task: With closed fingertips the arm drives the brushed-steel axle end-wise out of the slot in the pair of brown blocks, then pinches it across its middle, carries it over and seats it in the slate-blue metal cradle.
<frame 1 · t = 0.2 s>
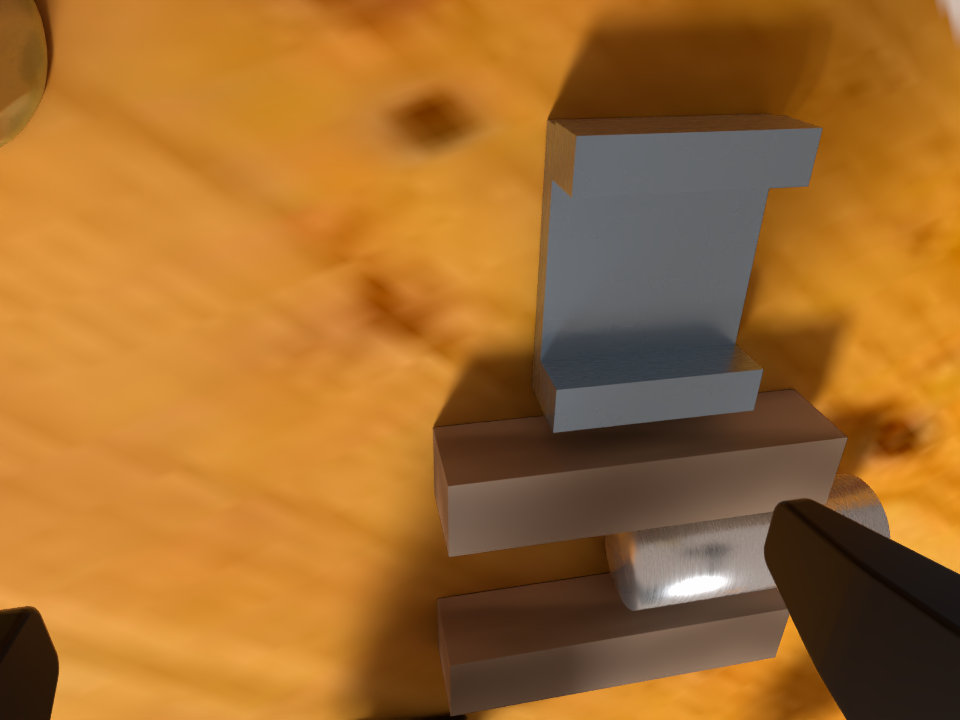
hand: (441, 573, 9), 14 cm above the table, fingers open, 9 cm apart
pair of brown blocks: (606, 525, 29), on the table
axle: (741, 538, 28), point 2 cm above the table
cradle: (642, 260, 23), on the table
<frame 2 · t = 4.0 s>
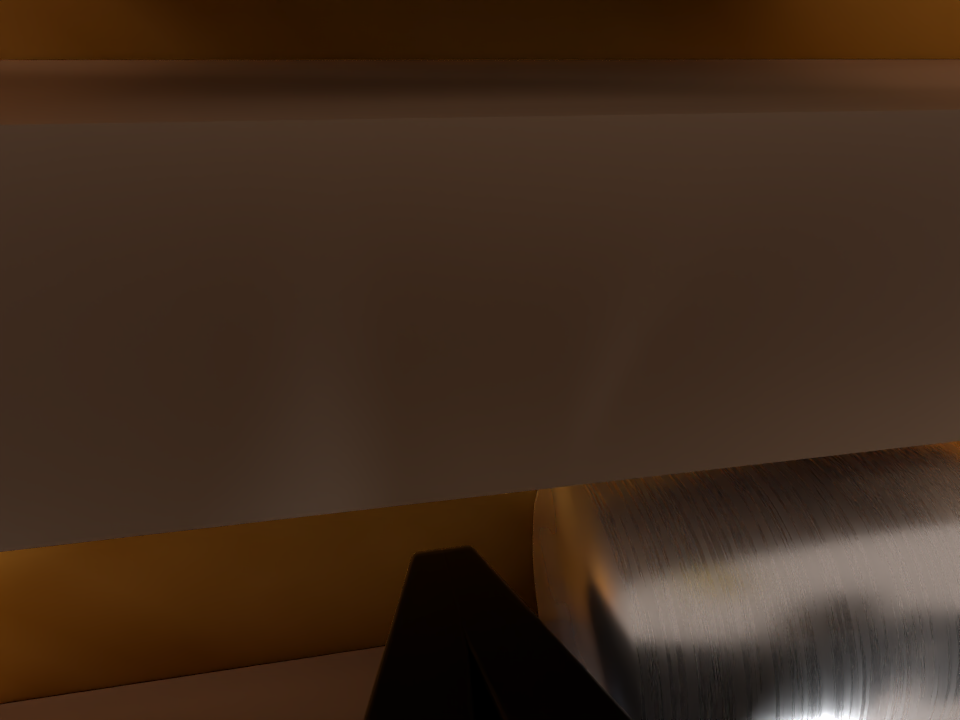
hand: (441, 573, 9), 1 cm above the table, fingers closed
pair of brown blocks: (472, 499, 10), on the table
axle: (926, 570, 10), point 2 cm above the table, tilted 15°, touching gripper
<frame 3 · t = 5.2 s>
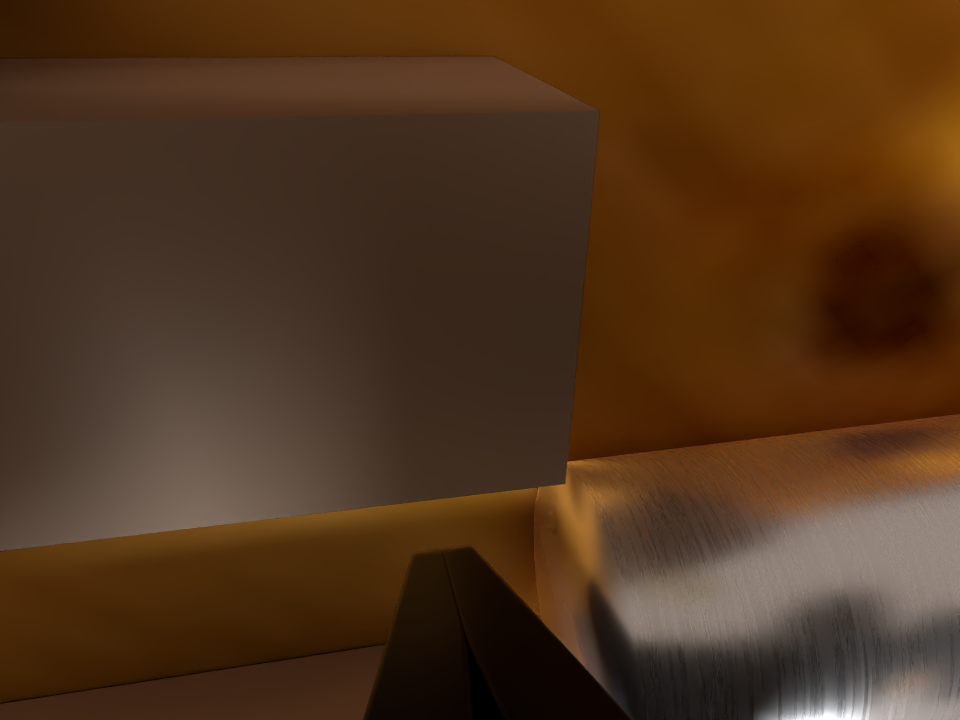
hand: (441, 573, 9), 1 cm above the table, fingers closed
axle: (928, 567, 10), point 2 cm above the table, tilted 15°, touching gripper
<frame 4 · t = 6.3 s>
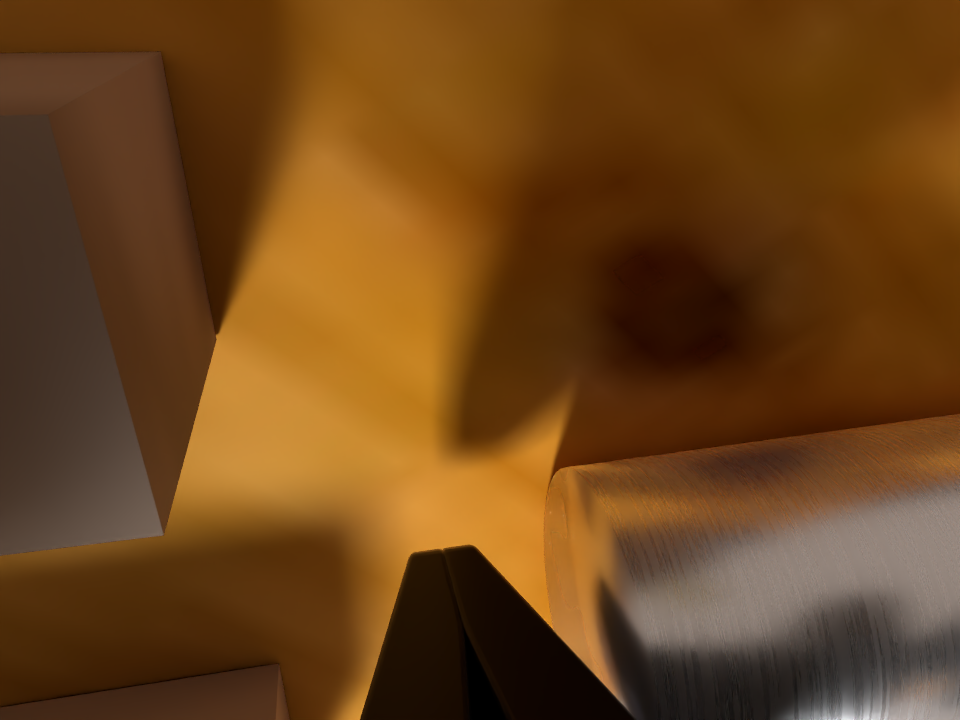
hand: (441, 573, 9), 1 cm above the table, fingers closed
axle: (944, 568, 9), point 2 cm above the table, tilted 14°, touching gripper
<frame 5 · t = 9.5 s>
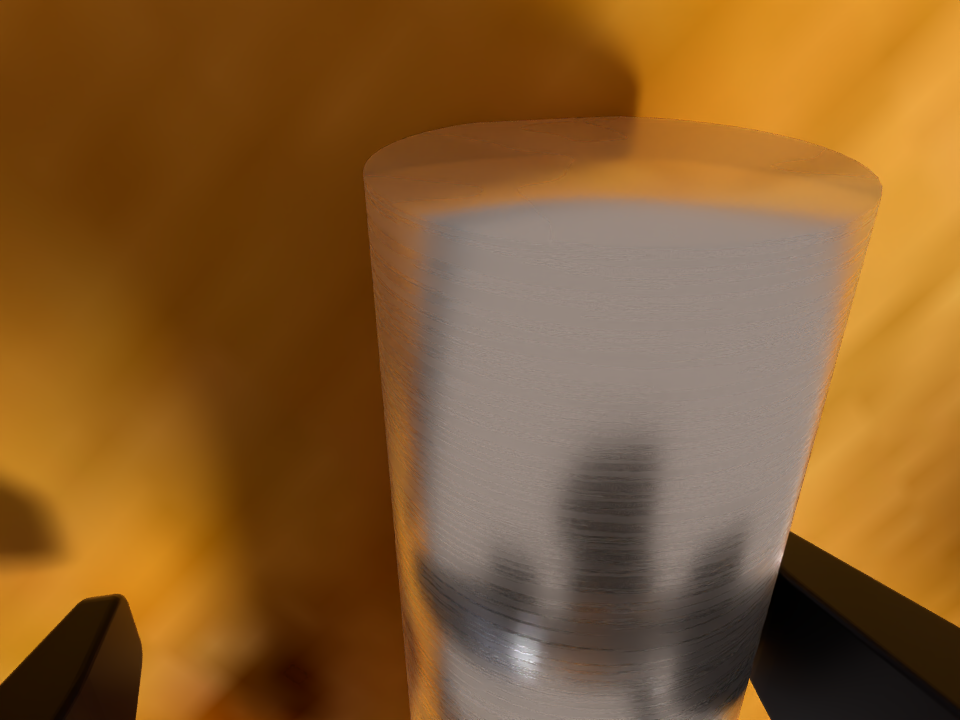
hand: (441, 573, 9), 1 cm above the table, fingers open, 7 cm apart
axle: (573, 595, 8), point 2 cm above the table, tilted 48°
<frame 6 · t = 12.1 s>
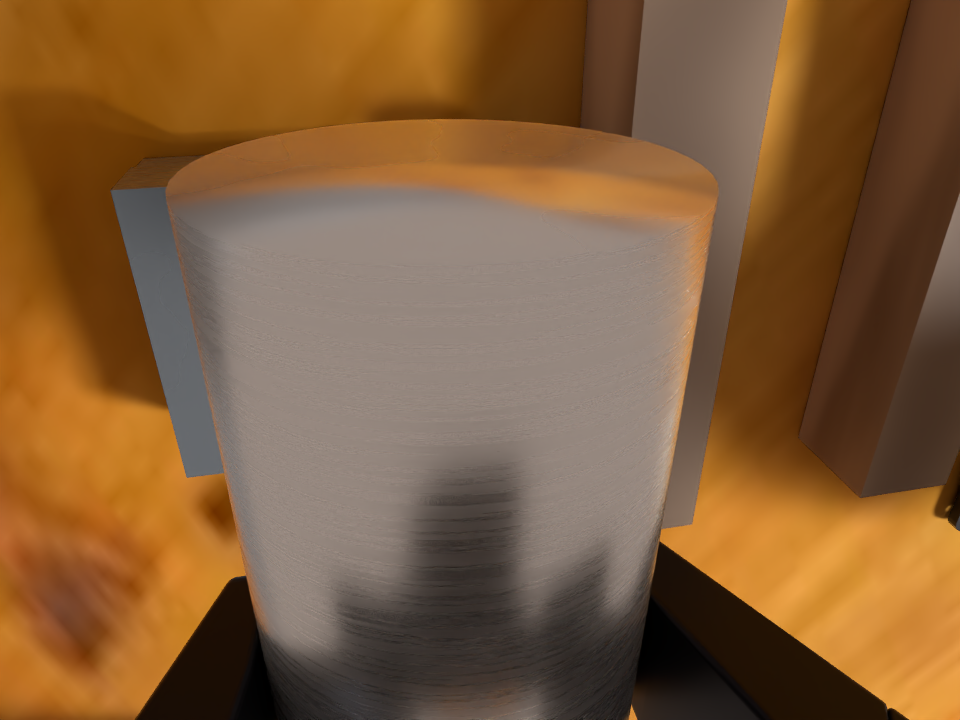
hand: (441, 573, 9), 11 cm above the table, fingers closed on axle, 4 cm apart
pair of brown blocks: (763, 250, 20), on the table
axle: (454, 622, 8), point 12 cm above the table, touching gripper
cradle: (359, 285, 18), on the table
when the fingers open (3 cm above the table, at t = 13.9 s): axle drops 1 cm, resting on cradle.
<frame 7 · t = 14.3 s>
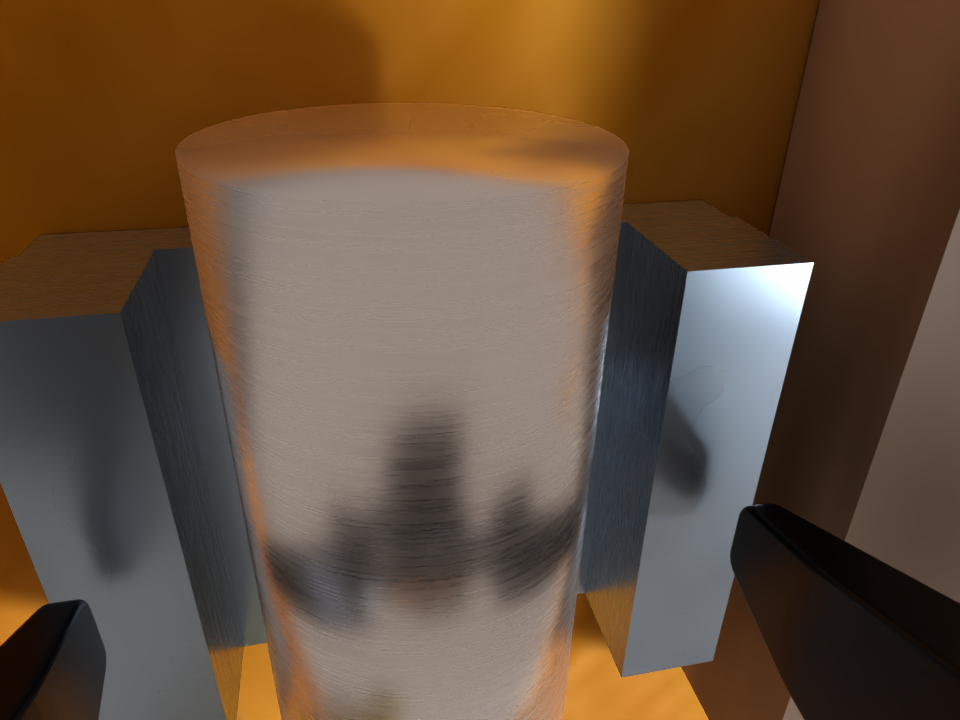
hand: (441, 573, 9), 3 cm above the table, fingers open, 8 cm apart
axle: (420, 545, 9), point 3 cm above the table, tilted 8°, touching cradle
cradle: (408, 427, 11), on the table
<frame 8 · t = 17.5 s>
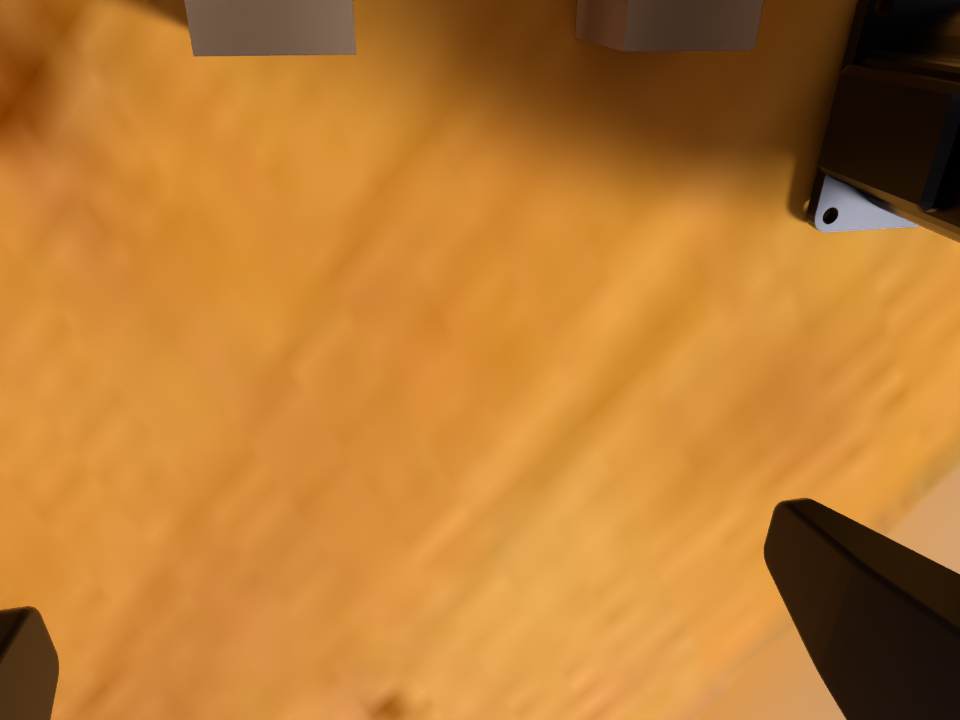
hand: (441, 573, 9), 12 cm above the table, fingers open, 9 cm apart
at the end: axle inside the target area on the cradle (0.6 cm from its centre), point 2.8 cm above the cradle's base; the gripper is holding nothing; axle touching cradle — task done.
